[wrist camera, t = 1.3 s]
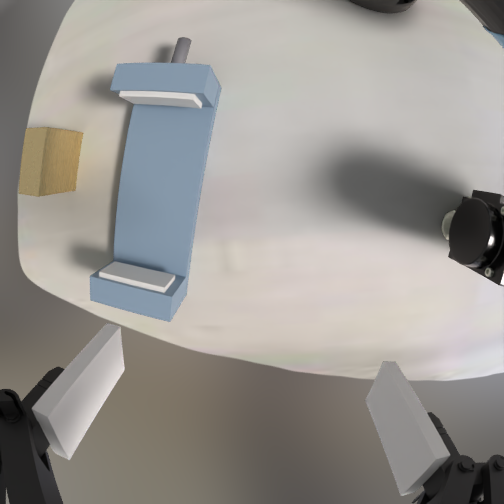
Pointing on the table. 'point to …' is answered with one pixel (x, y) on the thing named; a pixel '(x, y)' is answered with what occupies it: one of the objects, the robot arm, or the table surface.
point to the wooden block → (49, 161)
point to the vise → (156, 210)
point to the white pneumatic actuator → (478, 234)
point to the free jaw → (167, 81)
